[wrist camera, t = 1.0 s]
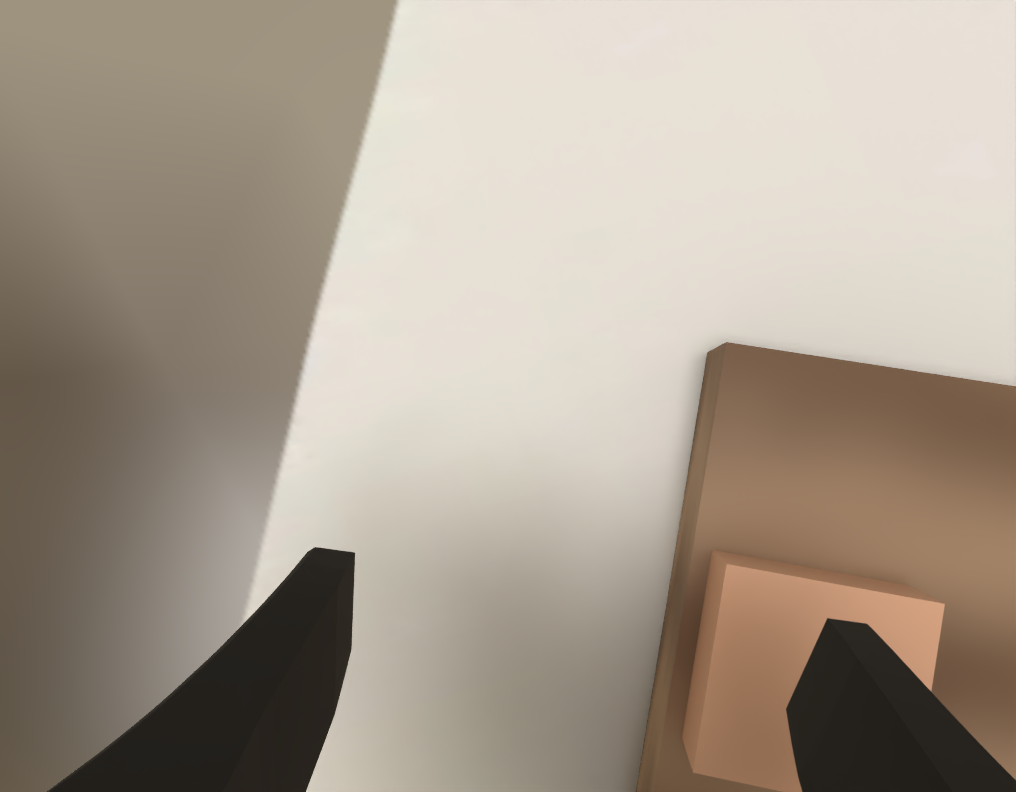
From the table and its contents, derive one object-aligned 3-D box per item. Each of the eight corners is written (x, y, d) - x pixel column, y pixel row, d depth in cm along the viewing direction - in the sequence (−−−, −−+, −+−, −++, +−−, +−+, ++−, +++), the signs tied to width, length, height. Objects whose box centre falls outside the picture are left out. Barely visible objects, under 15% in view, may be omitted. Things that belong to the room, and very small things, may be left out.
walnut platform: (1003, 959, 22) (1070, 1045, 19) (623, 873, 23) (629, 941, 20) (1087, 411, 22) (1167, 409, 19) (707, 352, 23) (726, 342, 20)
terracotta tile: (877, 777, 19) (911, 818, 17) (681, 737, 20) (693, 772, 18) (907, 585, 19) (945, 604, 17) (712, 549, 20) (726, 563, 18)
